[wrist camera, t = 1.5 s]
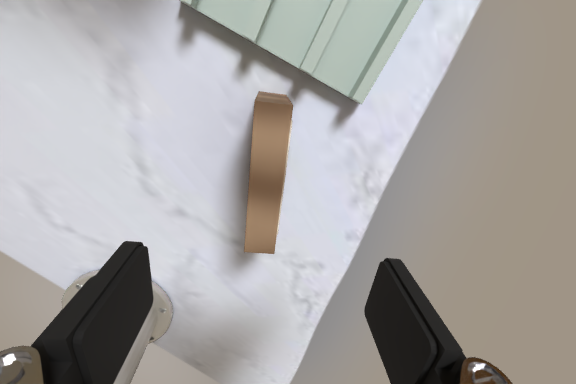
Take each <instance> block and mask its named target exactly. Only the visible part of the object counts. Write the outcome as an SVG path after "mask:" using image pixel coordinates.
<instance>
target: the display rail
mask: <svg viewBox="0 0 576 384" xmlns="http://www.w3.org/2000/svg"><path fill="white" fill-rule="evenodd" d="M179 1H181V2H182V3H184V4H186V5H188V6H189V7H191V8H193V9H195V10H196V11H198V12H200V13H202V14H203V15H205V16H207V17H209V18H210V19H212V20H214V21H216V22H217V23H219V24H221V25H223V26H224V27H226V28H228V29H229V30H231V31H233V32H235V33H236V34H238V35H240V36H242V37H243V38H245V39H247V40H249V41H250V42H252V43H254V44H256V45H257V46H259V47H261V48H263V49H264V50H266V51H268V52H270V53H271V54H273V55H275V56H277V57H278V58H280V59H282V60H284V61H285V62H287V63H289V64H291V65H292V66H294V67H296V68H298V69H299V70H301V71H303V72H304V73H306V74H308V75H310V76H311V77H313V78H315V79H317V80H318V81H320V82H322V83H324V84H325V85H327V86H329V87H331V88H332V89H334V90H336V91H338V92H339V93H341V94H343V95H345V96H346V97H348V98H350V99H352V100H353V101H355V102H357V103H359V104H362V103H363V102H364V100H365V98H366V96H367V95H368V93H369V91H370V90H371V88H372V86H373V85H374V83H375V81H376V79H377V78H378V76H379V74H380V73H381V71H382V69H383V68H384V66H385V64H386V63H387V61H388V59H389V57H390V56H391V54H392V52H393V51H394V49H395V47H396V46H397V44H398V42H399V41H400V39H401V37H402V35H403V34H404V32H405V30H406V29H407V27H408V25H409V24H410V22H411V20H412V19H413V17H414V15H415V13H416V12H417V10H418V8H419V7H420V5H421V3H422V2H423V0H179Z"/></svg>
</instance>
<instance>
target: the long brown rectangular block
mask: <svg viewBox="0 0 576 384" xmlns="http://www.w3.org/2000/svg"><path fill="white" fill-rule="evenodd" d="M292 110H293V104H292V103H291V101H290V100H289V98H288V97H287V95H283V94H275V93H267V92H260V91H259V93H258V95H257V97H256V99H255V104H254V118H253V133H252V147H251V161H250V175H249V189H248V204H247V218H246V232H245V246H244V252H252V253H268V254H274V251H275V243H276V236H277V235H278V229H279V221H280V213H281V205H282V198H283V190H284V182H285V175H286V167H287V159H288V152H289V144H290V136H291V128H292V119H291V118H292Z"/></svg>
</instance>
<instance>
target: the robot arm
mask: <svg viewBox="0 0 576 384" xmlns="http://www.w3.org/2000/svg"><path fill="white" fill-rule="evenodd" d="M172 315H173V309H172V304H171V301H170V299H169V297H168V296H167V294H166V293H165V292H164V291H163V290H162V289H161V288H160V287H159V286H158V285H157V284H156V283H154V282H153V281H152V280H151V272H150V263H149V254H148V248H147V247H146V246H143V243H142V242H131V241H125V242H123V243H122V245H121V246H120V247H119V248H118V249H117V250H116V252H115V253H114V254H113V255H112V256H111V257H110V259H109V260H108V261H107V262H106V263H105V265H104V266H103V267H102V268H101V269H100V270H96V271H92V272H89V273H86V274H84V275H82V276H80V277H79V278H78V279H76V280H75V281H74V282H73V283H72V284H71V285H70V286H69V287H68V288H67V290H66V291H65V293H64V295H63V298H62V310H61V312H60V313H59V314H58V315H57V316H56V317H55V319H54V320H53V321H52V322H51V323H50V324H49V326H48V327H47V328H46V329H45V330H44V331H43V333H42V334H41V335H40V336H39V337H38V338H37V339H36V341H35V342H34V343H33V344H32V345H31V346H18V347H12V348H9V349H6V350H3V351H1V352H0V384H130V383H131V380H132V378H133V376H134V374H135V371H136V369H137V367H138V365H139V362H140V360H141V358H142V356H143V353H144V351H145V349H146V347H147V344H149V343H151V342H154V341H155V340H157V339H159V338H160V337H161V336H162V335H163V334H164V333H165V332H166V331H167V329H168V327H169V325H170V322H171V320H172ZM365 317H366V319H367V322H368V325H369V327H370V330H371V332H372V335H373V338H374V340H375V343H376V346H377V348H378V351H379V354H380V356H381V359H382V362H383V364H384V367H385V369H386V372H387V375H388V377H389V380H390V383H391V384H512V382H511V381H510V380H509V379H508V377H507V376H506V375H505V374H504V373H503V372H502V371H501V370H499V369H498V368H497V367H495V366H494V365H492V364H491V363H489V362H487V361H485V360H483V359H480V358H476V357H469V358H466V357H465V355H464V354H463V352H462V349H461V347H460V346H459V344H458V343H457V341H456V340H455V339H454V337H453V336H452V334H451V333H450V331H449V330H448V328H447V327H446V325H445V324H444V322H443V321H442V319H441V318H440V316H439V315H438V314H437V312H436V311H435V309H434V308H433V306H432V305H431V303H430V302H429V300H428V299H427V297H426V296H425V294H424V293H423V291H422V290H421V289H420V287H419V286H418V284H417V283H416V281H415V280H414V278H413V277H412V275H411V274H410V273H409V271H408V269H407V268H406V266H405V265H404V263H403V262H402V261H401V260H400V259H391V258H386V259H385V260H384V261H383V262H380V264H379V267H378V270H377V273H376V276H375V279H374V282H373V285H372V288H371V291H370V294H369V297H368V299H367V303H366V306H365Z"/></svg>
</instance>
